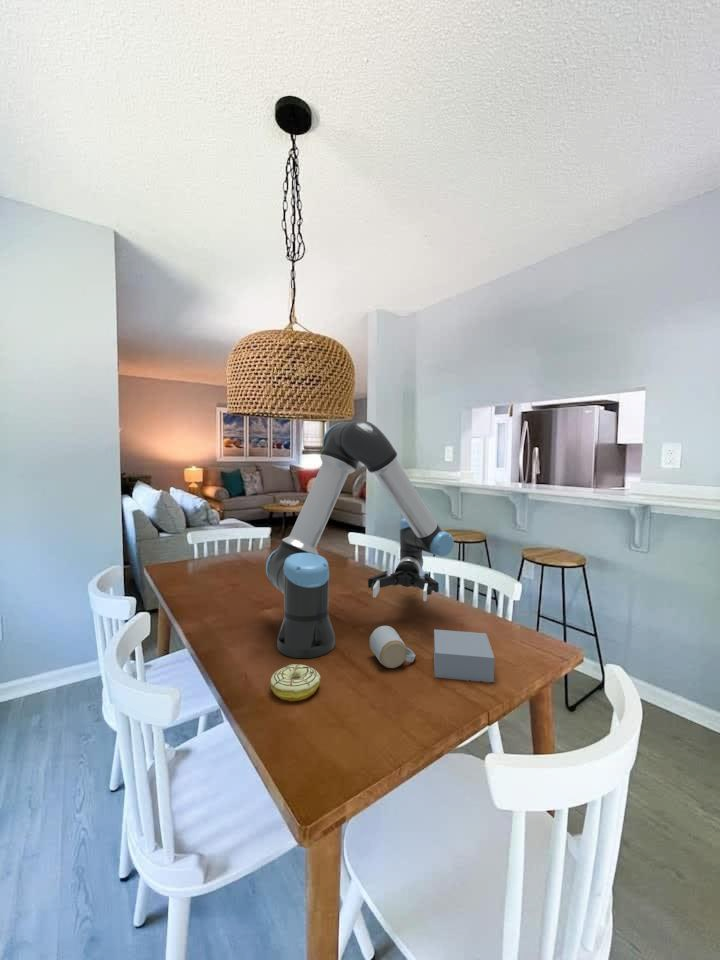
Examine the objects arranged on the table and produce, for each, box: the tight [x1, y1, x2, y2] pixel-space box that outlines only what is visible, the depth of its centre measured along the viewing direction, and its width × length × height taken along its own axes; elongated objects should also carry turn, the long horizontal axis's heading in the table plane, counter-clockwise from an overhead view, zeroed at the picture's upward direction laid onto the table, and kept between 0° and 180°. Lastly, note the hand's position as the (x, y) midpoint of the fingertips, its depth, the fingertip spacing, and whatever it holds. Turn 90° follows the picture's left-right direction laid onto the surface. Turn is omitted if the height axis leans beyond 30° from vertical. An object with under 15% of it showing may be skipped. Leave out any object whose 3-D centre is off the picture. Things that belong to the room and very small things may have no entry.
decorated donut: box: [270, 663, 321, 702], centre depth 89 cm, size 10×11×4 cm
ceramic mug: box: [368, 625, 416, 669], centre depth 101 cm, size 11×8×8 cm
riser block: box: [433, 629, 496, 683], centre depth 100 cm, size 13×13×6 cm
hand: (399, 594), depth 111 cm, fingers open, 13 cm apart
